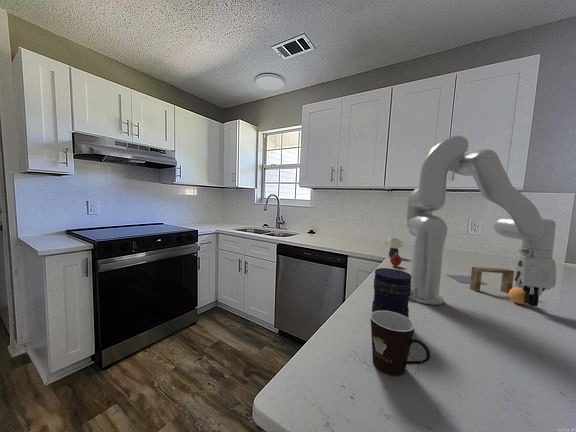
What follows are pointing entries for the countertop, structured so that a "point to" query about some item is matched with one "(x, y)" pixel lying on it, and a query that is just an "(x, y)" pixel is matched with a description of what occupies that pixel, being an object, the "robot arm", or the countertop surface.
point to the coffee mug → (393, 342)
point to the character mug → (394, 245)
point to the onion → (395, 260)
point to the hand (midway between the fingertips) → (530, 304)
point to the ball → (517, 295)
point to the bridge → (506, 273)
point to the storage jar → (391, 291)
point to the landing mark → (462, 278)
